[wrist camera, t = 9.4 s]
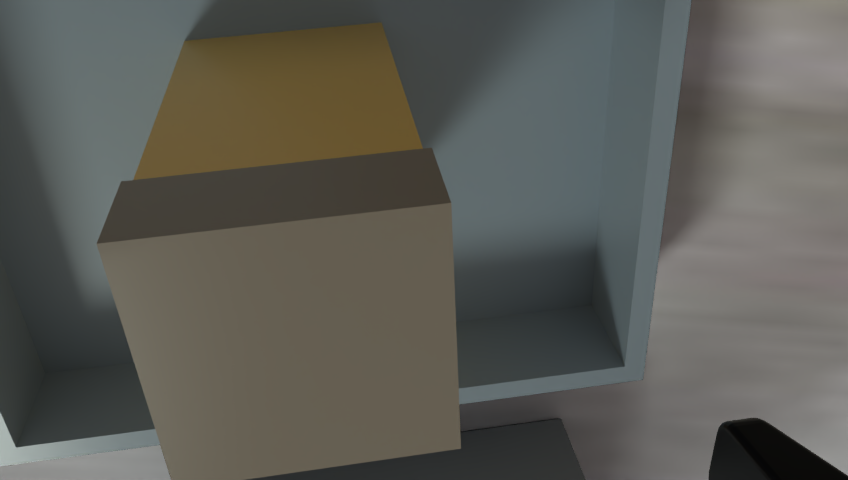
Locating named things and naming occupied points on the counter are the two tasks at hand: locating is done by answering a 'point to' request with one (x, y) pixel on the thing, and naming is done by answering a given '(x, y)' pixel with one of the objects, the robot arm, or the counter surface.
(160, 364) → the block
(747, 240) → the counter surface
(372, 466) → the grey square socket tray
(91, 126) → the parts tray
